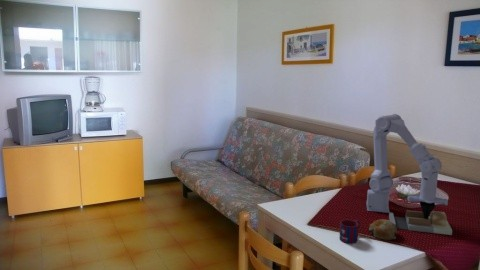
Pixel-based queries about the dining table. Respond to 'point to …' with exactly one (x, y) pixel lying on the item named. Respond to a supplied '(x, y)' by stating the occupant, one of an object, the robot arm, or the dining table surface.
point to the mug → (349, 231)
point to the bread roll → (383, 229)
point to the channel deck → (418, 223)
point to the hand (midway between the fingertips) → (425, 219)
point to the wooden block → (438, 218)
